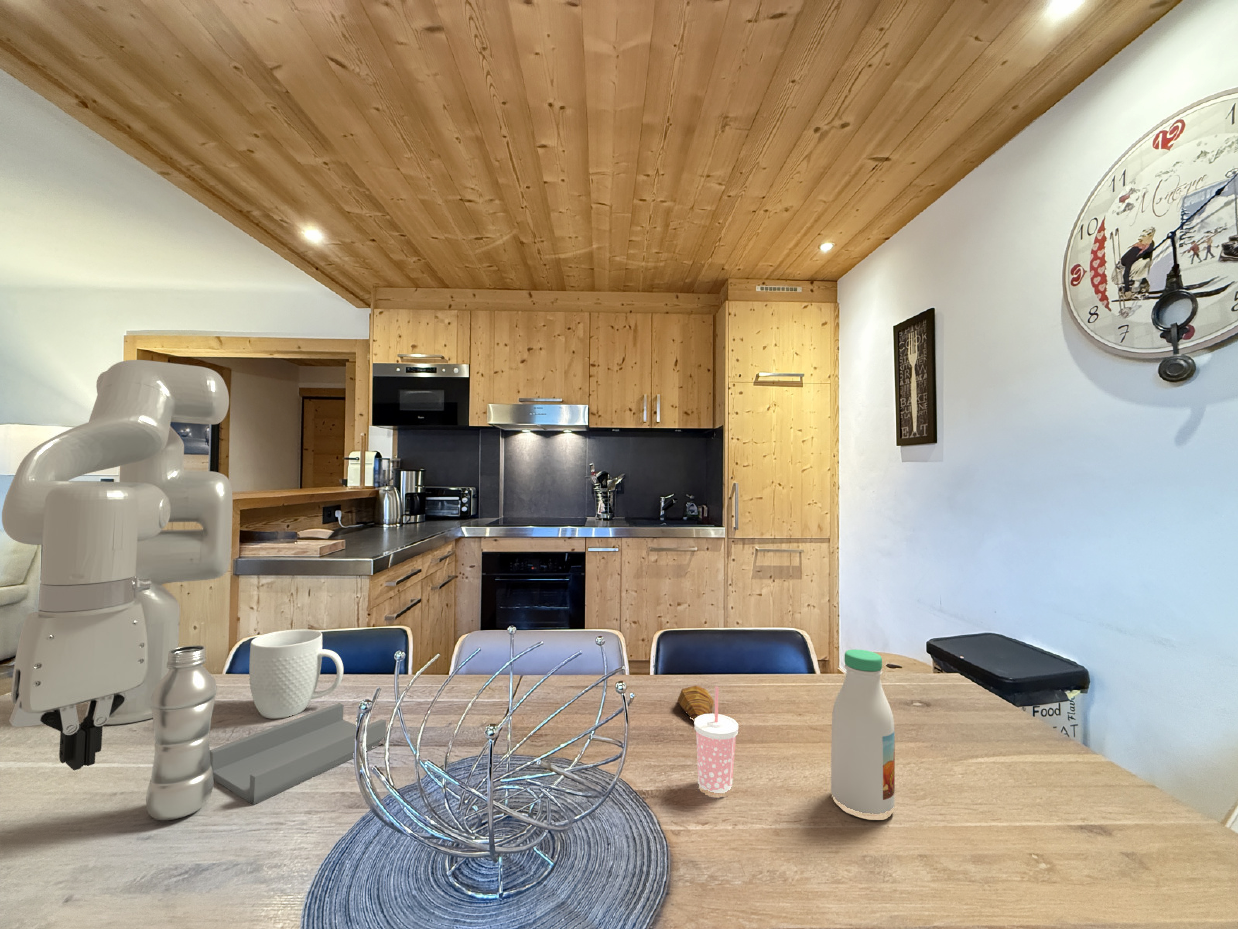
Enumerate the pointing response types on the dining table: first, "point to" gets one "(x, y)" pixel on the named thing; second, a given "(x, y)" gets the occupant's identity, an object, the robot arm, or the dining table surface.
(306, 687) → the mug
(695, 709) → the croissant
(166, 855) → the dining table surface
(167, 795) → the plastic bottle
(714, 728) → the beverage cup
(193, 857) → the dining table surface
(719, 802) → the dining table surface
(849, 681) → the milk bottle
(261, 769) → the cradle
